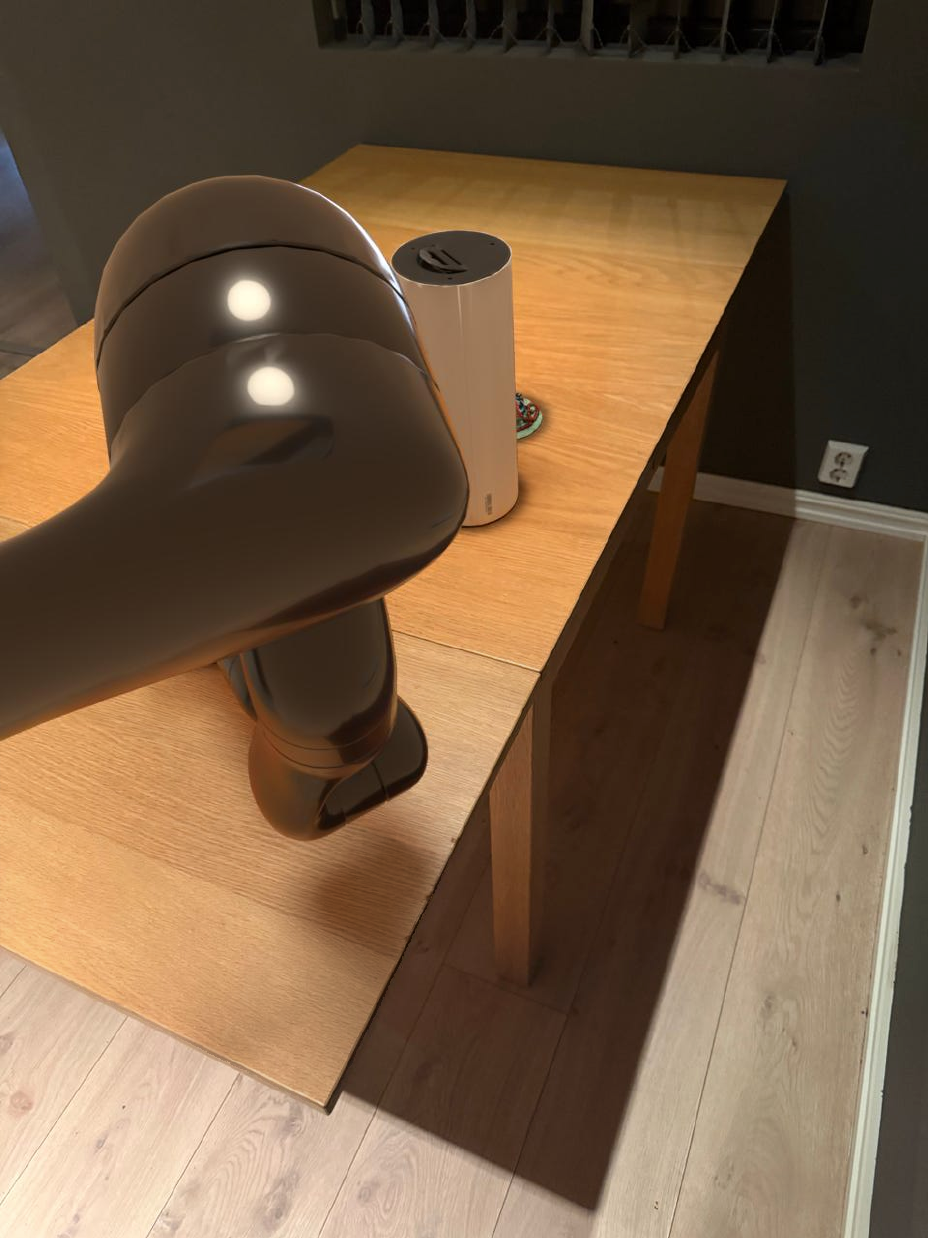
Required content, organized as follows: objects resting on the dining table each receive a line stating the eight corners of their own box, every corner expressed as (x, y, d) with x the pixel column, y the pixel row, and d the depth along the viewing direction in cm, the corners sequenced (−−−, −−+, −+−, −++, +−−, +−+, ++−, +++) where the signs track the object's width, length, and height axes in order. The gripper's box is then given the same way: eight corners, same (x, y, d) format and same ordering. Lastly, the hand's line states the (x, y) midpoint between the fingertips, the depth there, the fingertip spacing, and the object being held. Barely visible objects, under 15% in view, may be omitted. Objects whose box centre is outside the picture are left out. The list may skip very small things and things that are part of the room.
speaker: (533, 515, 89) (529, 262, 70) (435, 540, 88) (403, 288, 69) (501, 456, 96) (488, 213, 77) (409, 478, 95) (374, 236, 76)
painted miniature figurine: (498, 370, 104) (511, 363, 96) (539, 414, 105) (556, 411, 98) (451, 419, 104) (460, 416, 97) (493, 462, 106) (506, 463, 98)
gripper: (321, 524, 63) (238, 419, 73) (125, 608, 58) (65, 483, 69) (340, 598, 68) (260, 491, 78) (162, 681, 64) (101, 555, 74)
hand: (169, 488), depth 73 cm, fingers closed on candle, 6 cm apart
